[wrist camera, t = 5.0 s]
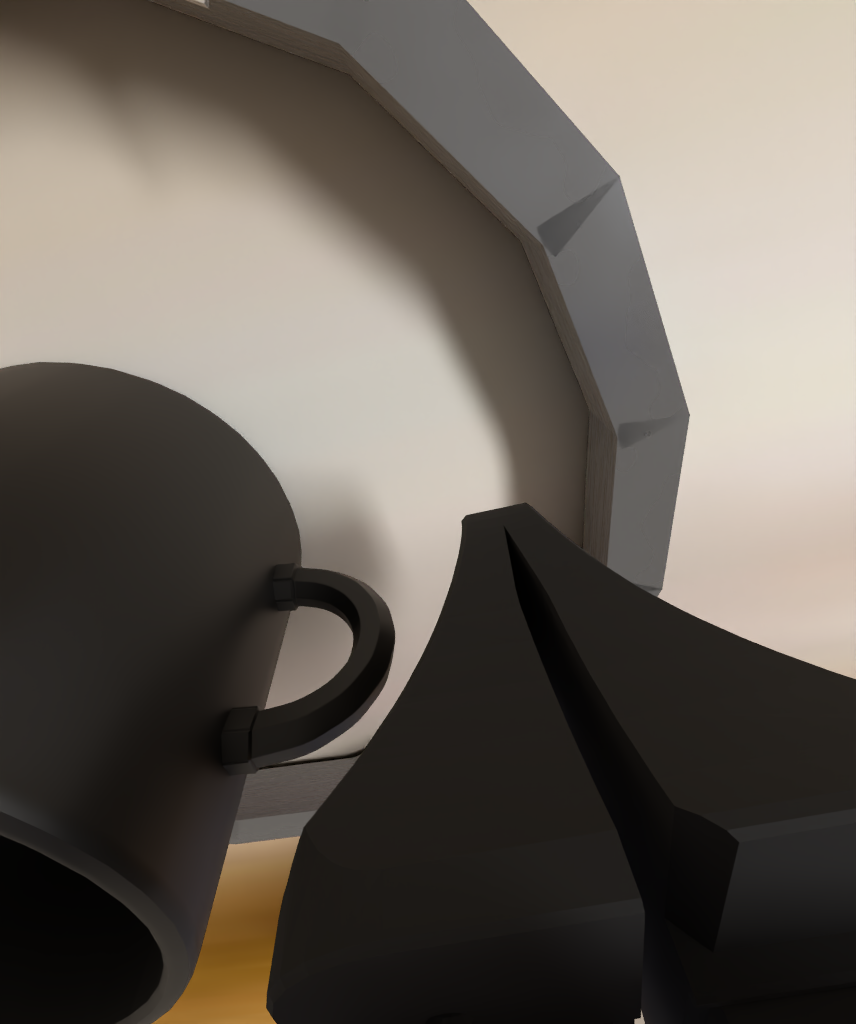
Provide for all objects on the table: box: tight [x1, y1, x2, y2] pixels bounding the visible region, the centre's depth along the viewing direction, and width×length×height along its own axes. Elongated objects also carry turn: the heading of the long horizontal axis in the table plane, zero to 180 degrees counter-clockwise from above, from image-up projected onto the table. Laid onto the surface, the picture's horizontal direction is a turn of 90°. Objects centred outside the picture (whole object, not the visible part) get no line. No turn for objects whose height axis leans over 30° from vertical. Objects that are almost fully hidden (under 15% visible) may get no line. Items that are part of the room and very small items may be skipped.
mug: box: [0, 362, 395, 1024], centre depth 10 cm, size 9×12×9 cm
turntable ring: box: [148, 0, 690, 844], centre depth 12 cm, size 24×24×2 cm
